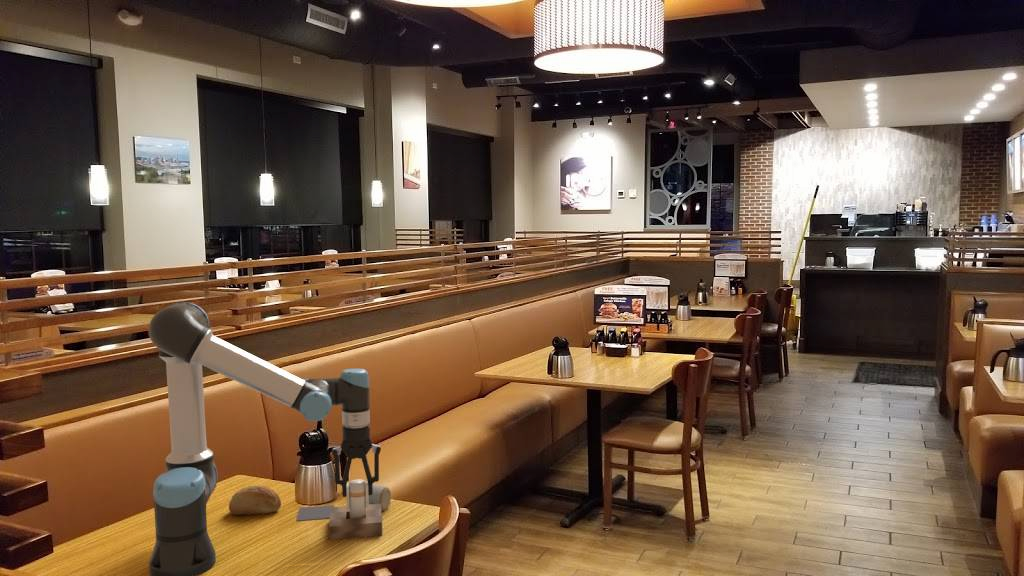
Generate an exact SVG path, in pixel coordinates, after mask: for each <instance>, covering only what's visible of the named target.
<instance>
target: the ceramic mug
mask: <svg viewBox="0 0 1024 576" xmlns="http://www.w3.org/2000/svg"><path fill="white" fill-rule="evenodd" d="M372 486H373V493H372V495H369V504H381V512H383V511H385V510H387V509H388V508H389V506H390V503H391V499H392V498H391V497H392V493H391V489H390V488H389V487H387V486H384V485H380V484H374V483H373V485H372Z"/></svg>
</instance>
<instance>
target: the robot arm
mask: <svg viewBox="0 0 1024 576" xmlns="http://www.w3.org/2000/svg"><path fill="white" fill-rule="evenodd" d="M148 335H149V336H148V337H149V338H150V340H151V341H150V342H151V343H152V344H153V345H154V346H155V347H156V348H157V349H158V357H159V358H160V359H161V360H163V361H164V362H165V365H166V367H165V368H166V369H165V370H166V381H167V382H166V383H167V397H168V398H167V399H168V400H167V401H168V402H167V403H168V414H169V416H168V417H169V430H170V445H171V446H170V447H171V448H170V449H171V451H170V453H169V454H168V455H167V456H166V458H165V467H166V469H165V471H166V472H163V473H161V474H160V475H158V477H156V479H155V480H154V483H153V491H152V497H153V504H154V505H153V506H154V507H153V510H154V525H155V528H154V529H155V542H154V547H153V549H152V554H151V557H150V560H149V567H148V568H149V574H150V575H149V576H197V575H198V576H199V575H200V574H203V573H205V572H206V571H208V570H210V569H211V568H213V567H214V565H215V564H216V562H217V561H216V559H217V558H216V557H217V556H216V555H217V554H216V550H215V547H214V545H213V542H212V540H211V537H210V535H209V533H208V525H207V523H208V522H207V521H208V520H207V503H208V502H209V500H210V497H211V496H212V494H213V493H214V491H215V490H216V487H217V483H218V480H219V479H218V478H219V477H218V476H219V475H218V474H219V473H218V469H217V466H216V464H215V460H214V459H215V458H214V452H213V450H211V449H210V448H208V445H207V429H206V428H207V427H206V426H207V425H206V414H205V413H206V410H205V396H204V395H205V394H204V379H203V378H204V377H203V367H205V368H207V369H210V370H211V371H213V372H216V373H217V374H221V375H222V376H224V377H226V378H228V379H231V380H232V381H235V382H237V383H239V384H241V385H242V386H245V387H248V388H249V389H251V390H254V391H256V392H258V393H260V394H262V395H263V396H266V397H268V398H271V399H273V400H274V401H277V402H279V403H281V404H282V405H285V406H287V407H289V408H291V409H293V410H295V411H296V412H299V413H301V415H302V416H303V417H304V419H306V420H307V421H310V422H320V421H322V420H324V419H326V417H327V416H328V415H329V414H330V412H331V410H332V407H333V406H340V405H341V423H342V425H343V426H342V432H341V433H342V441H341V445H339V446H337V447H335V446H334V447H332V449H331V453H332V456H333V459H334V478H335V479H334V480H335V481H334V482H335V485H340V486H341V489H342V491H341V493H342V497H343V498H346V506H347V509H350V496H349V482H348V479H349V474H350V470H351V465H352V461H353V460H355V459H361V463H362V465H363V469H364V472H365V477H366V480H367V481H365V488H366V508H369V495H372V493H373V486H372V485H373V484H374V483H377V482H379V480H380V468H379V467H380V465H379V464H380V460H379V457H380V453H381V451H382V450H381V449H382V446H381V444H374V443H373V441H372V440H371V426H370V423H371V415H370V414H371V412H370V411H371V410H370V409H371V408H370V376H369V372H368V371H367V370H366V369H364V368H346V369H343V370H342V371H341V373H340V374H341V375H340V376H338V377H327V378H324V377H323V378H322V377H321V378H307V379H302V378H300V377H299V376H297V375H295V374H292V373H290V372H288V371H286V370H285V369H282V368H280V367H278V366H277V365H275V364H272V363H270V362H269V361H266V360H264V359H262V358H260V357H258V356H256V355H254V354H252V353H250V352H247V351H246V350H244V349H242V348H240V347H238V346H235V345H233V344H232V343H229V342H228V341H225V340H223V339H221V338H219V337H218V336H216V335H214V334H213V331H212V329H211V328H210V321H209V317H208V314H207V313H206V311H205V310H204V309H203V308H202V307H200V306H199V305H197V304H196V303H193V302H186V301H185V302H184V301H183V302H182V301H180V302H175V303H172V304H170V305H168V306H167V307H164V308H162V309H160V310H158V311H157V312H155V314H154V315H153V317H152V318H151V320H150V321H149V325H148ZM370 450H372V453H374V459H373V460H374V461H373V462H374V468H373V469H374V474H373V476H372V472H371V468H370V465H369V462H368V458H367V457H368V456H367V455H368V453H369V452H370ZM342 451H343V453H344V454H345V455H346V457H347V458H346V463H345V468H344V472H343V477H342V478H341V469H340V467H341V466H340V465H341V463H340V455H341V454H342V453H341V452H342Z"/></svg>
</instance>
